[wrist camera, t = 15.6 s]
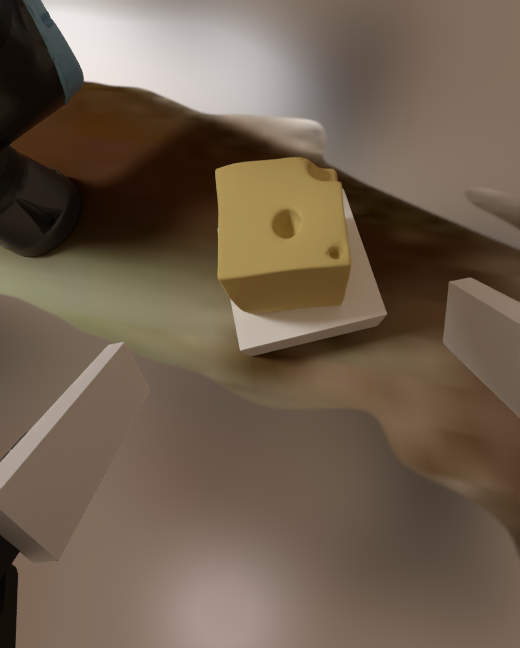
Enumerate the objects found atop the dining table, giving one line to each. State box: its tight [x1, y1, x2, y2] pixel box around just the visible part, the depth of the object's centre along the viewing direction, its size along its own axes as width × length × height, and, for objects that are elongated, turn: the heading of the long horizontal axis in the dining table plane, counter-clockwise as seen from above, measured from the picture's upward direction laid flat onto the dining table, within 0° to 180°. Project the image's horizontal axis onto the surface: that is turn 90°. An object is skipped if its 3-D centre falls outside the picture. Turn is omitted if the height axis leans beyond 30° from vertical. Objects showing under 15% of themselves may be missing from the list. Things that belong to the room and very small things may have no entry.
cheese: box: [215, 157, 351, 314], centre depth 26 cm, size 10×11×10 cm
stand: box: [231, 189, 387, 356], centre depth 33 cm, size 15×15×5 cm
